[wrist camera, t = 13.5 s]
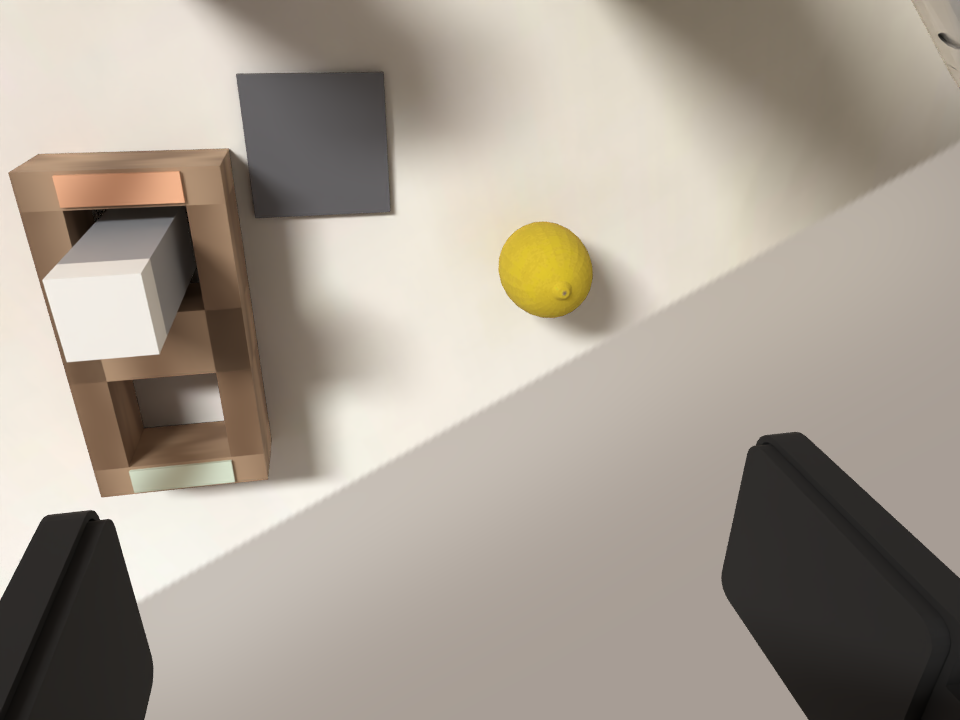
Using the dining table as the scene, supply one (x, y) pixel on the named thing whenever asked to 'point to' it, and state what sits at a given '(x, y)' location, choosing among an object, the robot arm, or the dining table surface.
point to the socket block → (194, 332)
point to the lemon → (545, 269)
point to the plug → (122, 283)
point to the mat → (315, 142)
